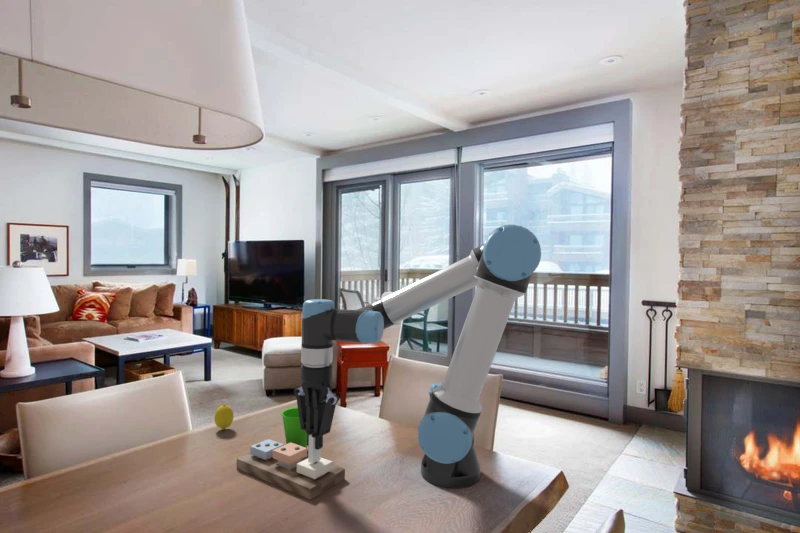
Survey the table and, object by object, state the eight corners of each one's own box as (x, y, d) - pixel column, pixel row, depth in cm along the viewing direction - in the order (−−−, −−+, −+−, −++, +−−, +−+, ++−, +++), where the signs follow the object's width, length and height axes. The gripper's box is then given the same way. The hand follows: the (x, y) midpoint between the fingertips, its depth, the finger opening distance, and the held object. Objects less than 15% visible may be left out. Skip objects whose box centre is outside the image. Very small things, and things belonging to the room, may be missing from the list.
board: (344, 478, 113) (344, 468, 113) (310, 499, 103) (310, 488, 102) (273, 452, 127) (273, 443, 127) (236, 468, 117) (236, 458, 117)
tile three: (283, 460, 120) (283, 443, 120) (265, 469, 115) (265, 451, 115) (268, 455, 123) (268, 438, 123) (250, 463, 118) (250, 445, 118)
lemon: (236, 429, 143) (237, 403, 143) (221, 434, 138) (222, 408, 138) (225, 425, 146) (226, 400, 146) (210, 430, 141) (210, 404, 141)
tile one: (332, 479, 111) (332, 460, 111) (314, 489, 106) (315, 469, 106) (314, 472, 114) (314, 454, 114) (296, 481, 109) (296, 462, 109)
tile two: (306, 465, 115) (307, 447, 115) (289, 474, 110) (289, 455, 110) (290, 459, 119) (290, 441, 119) (272, 467, 114) (272, 449, 114)
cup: (309, 458, 124) (310, 418, 123) (276, 457, 124) (276, 417, 124) (316, 444, 133) (316, 407, 132) (285, 443, 133) (285, 406, 133)
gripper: (347, 365, 109) (345, 462, 109) (308, 357, 116) (306, 448, 117) (326, 371, 103) (323, 474, 103) (286, 362, 110) (283, 459, 110)
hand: (314, 460), depth 110 cm, fingers closed
